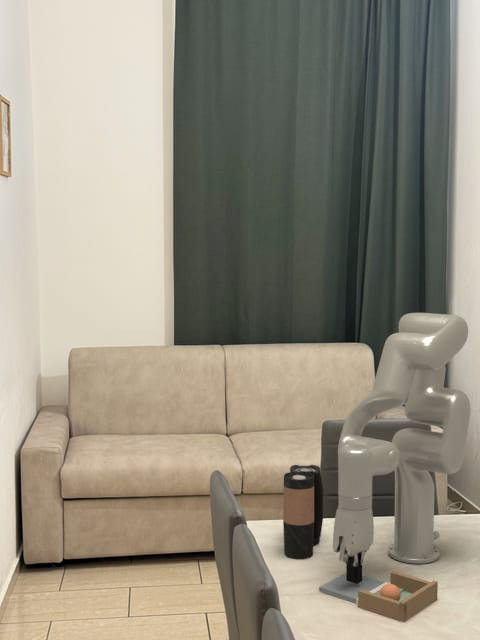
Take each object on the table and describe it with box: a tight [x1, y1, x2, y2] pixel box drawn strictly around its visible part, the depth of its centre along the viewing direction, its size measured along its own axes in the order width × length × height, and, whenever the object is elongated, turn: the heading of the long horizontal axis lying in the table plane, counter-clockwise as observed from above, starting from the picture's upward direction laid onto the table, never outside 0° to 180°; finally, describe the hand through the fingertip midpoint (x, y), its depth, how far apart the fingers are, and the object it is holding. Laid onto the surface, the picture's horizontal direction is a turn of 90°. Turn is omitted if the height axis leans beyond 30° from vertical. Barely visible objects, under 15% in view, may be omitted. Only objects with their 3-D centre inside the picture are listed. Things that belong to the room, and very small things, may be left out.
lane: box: [318, 570, 439, 623], centre depth 186 cm, size 14×22×4 cm, turn 49°
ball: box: [380, 584, 401, 601], centre depth 182 cm, size 4×4×4 cm
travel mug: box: [282, 472, 314, 560], centre depth 211 cm, size 8×8×20 cm
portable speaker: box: [289, 464, 324, 547], centre depth 219 cm, size 9×9×20 cm
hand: (354, 581), depth 190 cm, fingers closed
